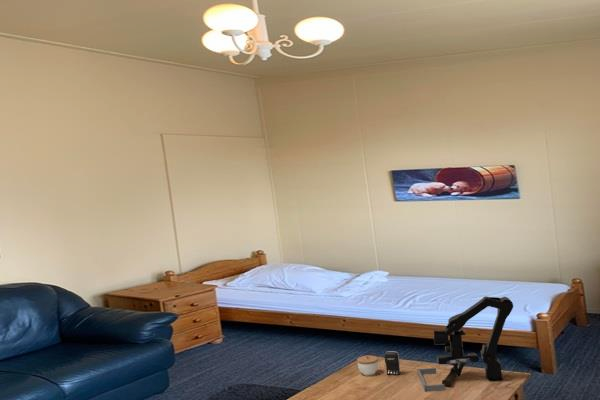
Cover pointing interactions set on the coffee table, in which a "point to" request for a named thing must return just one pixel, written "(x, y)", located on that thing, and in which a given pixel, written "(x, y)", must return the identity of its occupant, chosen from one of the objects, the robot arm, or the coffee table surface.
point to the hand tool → (450, 378)
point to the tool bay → (429, 387)
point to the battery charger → (392, 363)
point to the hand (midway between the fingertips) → (458, 376)
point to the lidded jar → (368, 365)
